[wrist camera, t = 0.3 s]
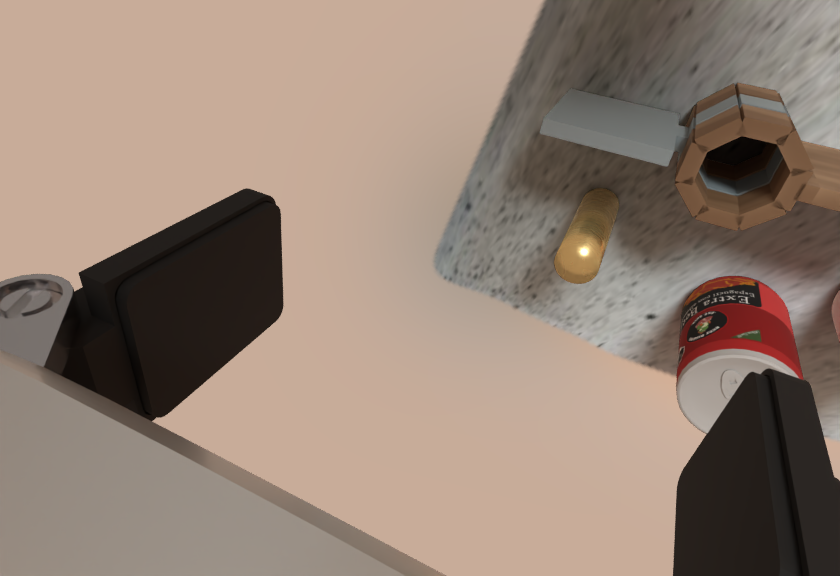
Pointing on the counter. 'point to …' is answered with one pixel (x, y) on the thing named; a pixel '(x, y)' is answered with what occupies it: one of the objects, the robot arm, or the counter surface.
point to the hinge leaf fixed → (754, 164)
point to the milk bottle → (836, 313)
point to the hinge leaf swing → (647, 132)
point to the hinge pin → (587, 237)
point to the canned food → (730, 344)
